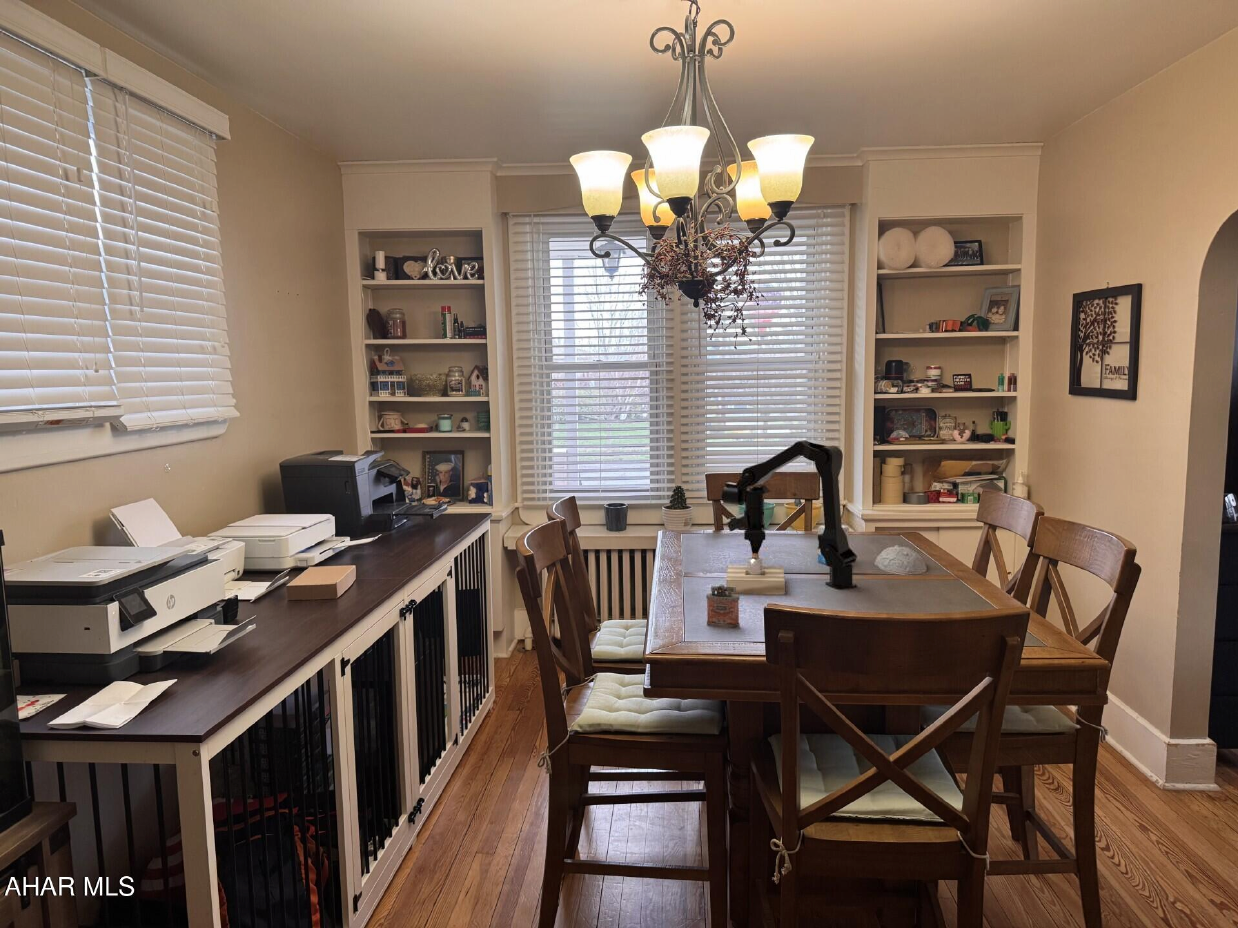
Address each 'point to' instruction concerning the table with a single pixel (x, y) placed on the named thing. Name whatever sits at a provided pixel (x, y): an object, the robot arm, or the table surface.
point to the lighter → (723, 607)
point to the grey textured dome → (900, 561)
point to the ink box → (820, 531)
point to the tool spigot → (755, 566)
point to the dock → (756, 580)
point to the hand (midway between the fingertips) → (754, 556)
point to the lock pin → (755, 555)
